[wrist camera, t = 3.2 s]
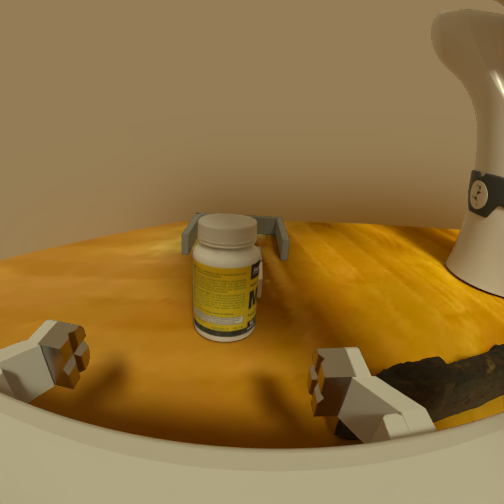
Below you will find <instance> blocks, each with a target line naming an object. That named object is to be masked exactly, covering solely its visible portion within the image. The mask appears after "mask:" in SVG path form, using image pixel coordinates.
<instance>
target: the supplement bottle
mask: <svg viewBox="0 0 504 504" xmlns="http://www.w3.org/2000/svg"><path fill="white" fill-rule="evenodd" d="M256 239H257V221H256V220H255V219H254V218H252V217H249V216H245V215H240V214H231V213H222V214H221V213H220V214H210V215H205V216H203V217H201V218H199V220H198V241H199V242H200V243H198V244H197V245H196V246H195V248H194V250H193V312H194V326H195V329H196V330H197V332H198V333H199V334H200V335H201V336H203V337H205V338H207V339H209V340H212V341H217V342H233V341H238V340H241V339H244V338H246V337H247V336H249V335H250V334H251V333H252V331H253V330H254V327H255V320H256V306H257V293H258V280H259V266H260V252H259V250H258V248H257V247H256V246H255V245H254V244H255V243H256Z"/></svg>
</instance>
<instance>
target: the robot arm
mask: <svg viewBox="0 0 504 504" xmlns="http://www.w3.org/2000/svg"><path fill="white" fill-rule="evenodd" d="M495 1H497V2H498V3H500V4H502V5H503V6H504V0H495ZM431 40H432V45H433V48H434V50H435V53H436V54H437V56H438V58H439V59H440V61H441V62H442V63H443V64H444V65H445V66H446V67H447V68H448V69H449V70H450V71H451V72H452V73H454V74H455V75H456V76H457V78H458V79H459V80H460V81H461V82H462V84H463V85H464V87H465V88H466V90H467V92H468V94H469V95H470V98H471V100H472V103H473V106H474V109H475V114H476V120H477V151H476V162H475V170H472V172H471V178H470V184H469V190H468V195H469V196H468V208H467V212H466V215H465V218H464V221H463V224H462V227H461V230H460V233H459V235H458V238H457V240H456V243H455V245H454V247H453V249H452V251H451V253H450V255H449V257H448V258H447V260H446V266H447V267H448V269H449V270H450V271H451V272H452V273H454V274H455V275H456V276H458V277H459V278H461V279H462V280H464V281H466V282H467V283H469V284H471V285H473V286H475V287H477V288H480V289H482V290H485V291H487V292H490V293H493V294H496V295H499V296H502V297H504V14H498V13H492V12H486V11H479V10H472V9H459V10H449V11H442V12H440V13H439V14H438V15H437V16H436V18H435V19H434V21H433V24H432V28H431ZM476 170H478V171H476ZM480 171H481V172H480ZM483 172H485V173H483ZM487 173H488V174H487ZM491 174H492V175H491ZM501 177H502V178H501ZM85 337H86V335H85V331H84V328H83V327H82V326H79V325H74V324H70V323H65V322H59V321H55V320H51V319H49V320H46V321H45V322H44V323H43V324H42V325H41V326H40V327H39V328H38V330H37V331H36V332H35V333H34V334H33V335H32V336H31V337H30V338H29V339H28V340H27V341H21V342H19V343H16V344H13V345H11V346H8V347H6V348H3V349H0V504H504V412H501V413H499V414H496V415H493V416H490V417H486V418H483V419H480V420H477V421H473V422H470V423H466V424H463V425H459V426H455V427H452V428H448V429H444V430H439V431H437V430H436V428H435V426H434V424H433V422H432V420H431V418H430V416H429V414H428V412H427V410H426V408H424V407H423V406H421V405H419V404H418V403H416V402H415V401H413V400H412V399H410V398H408V397H407V396H405V395H404V394H402V393H401V392H399V391H398V390H396V389H394V388H393V387H391V386H390V385H388V384H387V383H385V382H384V381H382V380H381V379H379V378H378V377H376V376H371V374H370V372H369V370H368V367H367V365H366V363H365V361H364V359H363V356H362V354H361V352H360V350H359V348H358V347H343V348H315V349H314V351H313V355H312V360H313V365H312V366H311V367H310V368H309V373H308V391H309V394H310V395H312V400H311V406H312V411H313V416H314V417H320V416H338V418H339V419H340V420H341V421H342V422H343V423H344V424H345V425H346V426H347V427H348V428H349V429H350V430H351V431H352V432H353V433H354V434H355V435H356V436H357V437H358V438H359V439H360V440H361V441H362V442H363V443H364V444H356V445H346V446H334V447H319V448H293V449H266V448H239V447H224V446H212V445H202V444H193V443H185V442H178V441H171V440H164V439H158V438H152V437H146V436H141V435H136V434H131V433H126V432H122V431H117V430H113V429H108V428H104V427H100V426H96V425H93V424H89V423H85V422H82V421H78V420H75V419H71V418H68V417H65V416H62V415H59V414H56V413H53V412H50V411H47V410H44V409H41V408H38V407H35V406H33V405H30V404H27V403H29V402H30V401H32V400H33V399H35V398H37V397H38V396H40V395H41V394H43V393H44V392H46V391H47V390H49V389H50V388H52V387H53V386H55V385H58V386H62V387H66V388H70V389H74V387H75V386H76V384H77V382H78V381H79V379H80V374H79V373H80V372H82V371H84V370H85V369H86V368H87V366H88V364H89V359H90V351H89V347H88V345H87V344H86V343H85V341H84V338H85Z"/></svg>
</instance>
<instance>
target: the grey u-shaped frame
mask: <svg viewBox="0 0 504 504" xmlns="http://www.w3.org/2000/svg"><path fill="white" fill-rule="evenodd" d="M210 214H211V213H196V215H195V216H194V218H193V219H192V220H191V222H190V223H189V224H188V226H187V227H186V229H185V230H184V232H183V233H182V254H189V252H190V251H191V249H192V247H193V245H194V243H195V241H196V239H197V237H198V220H199V218H201V217H203V216H205V215H210ZM212 214H213V213H212ZM245 216H249V217H252V218H254V219H255V220H256V221H257V234H270V235H275V236H276V241H277V245H278V250H279V254H280V259H281V260H287V259H288V250H289V237H288V234H287V232H286V229H285V226H284V223H283V220H282V218H281V217H267V216H251V215H245Z"/></svg>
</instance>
